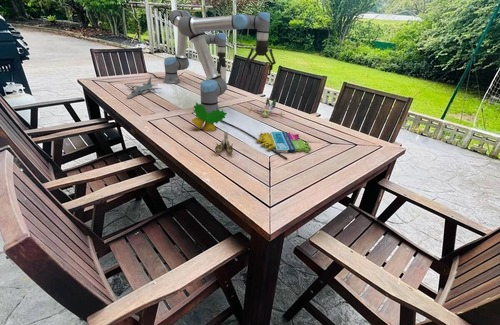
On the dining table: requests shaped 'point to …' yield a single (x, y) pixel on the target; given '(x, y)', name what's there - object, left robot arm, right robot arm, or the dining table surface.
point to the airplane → (142, 88)
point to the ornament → (207, 117)
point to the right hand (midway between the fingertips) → (259, 74)
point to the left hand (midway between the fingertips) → (221, 77)
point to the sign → (283, 142)
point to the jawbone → (224, 145)
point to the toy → (267, 109)
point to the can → (223, 73)
